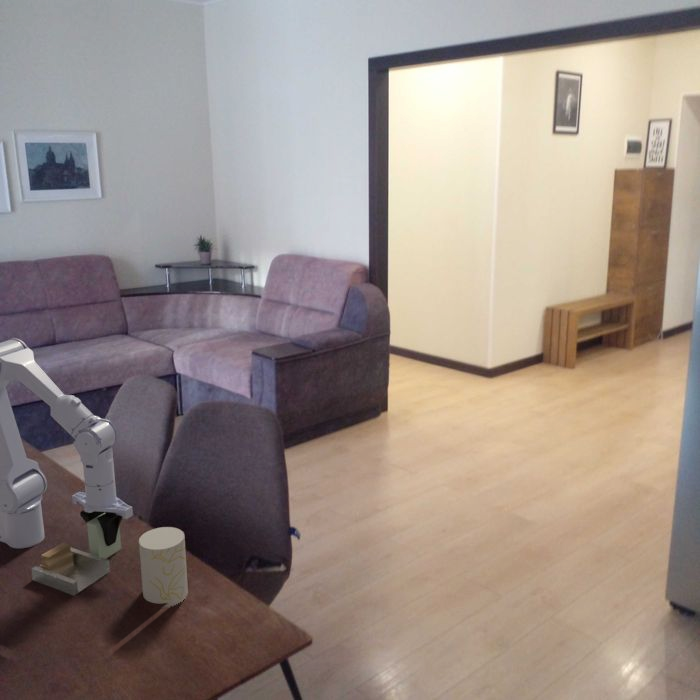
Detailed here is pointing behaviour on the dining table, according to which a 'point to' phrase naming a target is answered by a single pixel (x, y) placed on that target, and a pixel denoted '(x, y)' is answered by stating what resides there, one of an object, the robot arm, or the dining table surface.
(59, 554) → the offcut stack
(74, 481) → the dining table surface
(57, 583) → the rack
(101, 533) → the sage green tall pillar
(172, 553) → the cup
